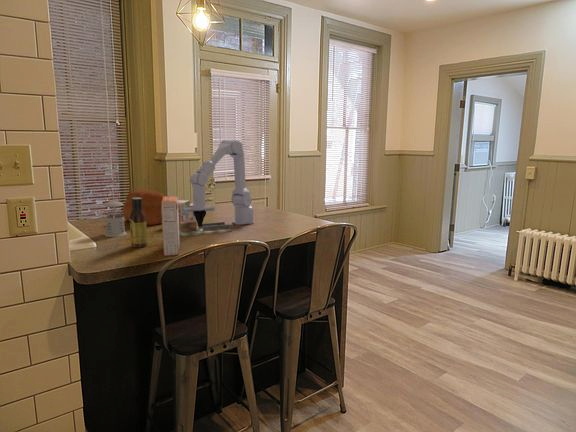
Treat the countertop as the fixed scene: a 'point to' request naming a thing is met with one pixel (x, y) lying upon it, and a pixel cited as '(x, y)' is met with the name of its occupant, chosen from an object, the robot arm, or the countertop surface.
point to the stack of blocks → (183, 216)
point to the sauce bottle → (138, 224)
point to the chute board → (203, 232)
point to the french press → (114, 219)
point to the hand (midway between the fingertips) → (199, 226)
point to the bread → (145, 205)
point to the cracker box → (170, 225)
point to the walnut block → (187, 226)
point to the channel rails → (214, 226)
